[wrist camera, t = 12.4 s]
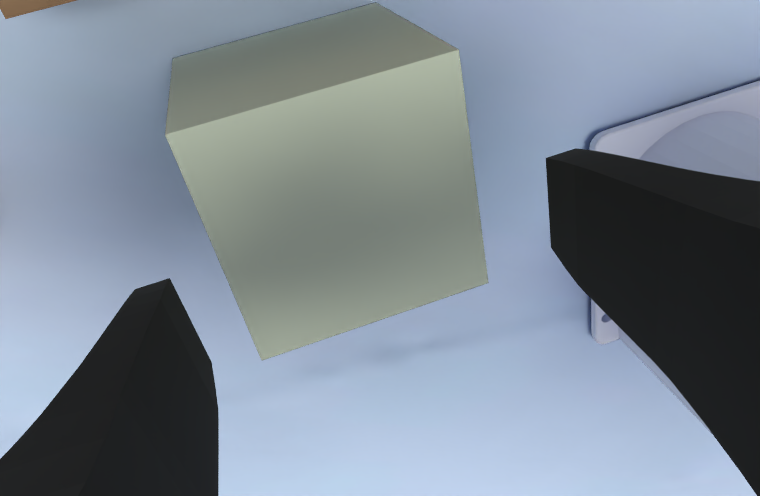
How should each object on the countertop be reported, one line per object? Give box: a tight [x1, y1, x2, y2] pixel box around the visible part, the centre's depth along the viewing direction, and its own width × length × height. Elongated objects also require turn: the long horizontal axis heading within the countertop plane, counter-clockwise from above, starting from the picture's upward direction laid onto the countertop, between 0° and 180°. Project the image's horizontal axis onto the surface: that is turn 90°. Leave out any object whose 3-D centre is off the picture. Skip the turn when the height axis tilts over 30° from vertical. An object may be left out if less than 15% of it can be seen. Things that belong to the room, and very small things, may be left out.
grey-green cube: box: [165, 3, 488, 360], centre depth 15 cm, size 6×6×6 cm
